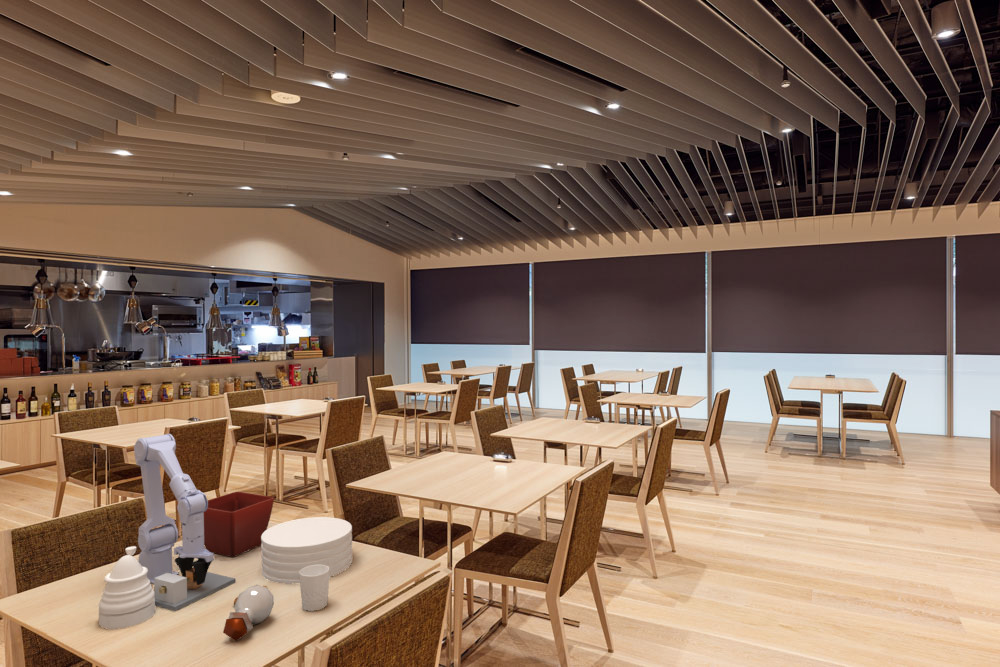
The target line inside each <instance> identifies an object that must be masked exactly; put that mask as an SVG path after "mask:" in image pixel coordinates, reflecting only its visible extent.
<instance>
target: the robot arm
mask: <svg viewBox="0 0 1000 667" xmlns="http://www.w3.org/2000/svg"><path fill="white" fill-rule="evenodd" d="M176 449H177V444H176V439H175V437H174V436H173V435H172V434H171V433H165V434H160V435H155V436H148V437H140V438H138V439H136V442H135V444H134V445H133V451H134V460H135V464H136V466H139V467H140V471H141V479H142V488H143V496H144V503H145V510H146V518H147V519H146V520H145V521H144V522H143V523H142V524H141V525H140V526H139V527H138V537H137V543H138V547H139V548H140V550H141V551H140V552H139V555H138V560H137V561H138V562H139V563H140V565H141V566H143V567H146V568H147V569H148V573H147V574H146V576H147V578H148V579H149V580H150V584H154V578H156V577H158V576H161V575H163V574H165V573H170V574H174V575H178V576H179V575H180V574H181V576H182V577H186V570H189V569H191V568H194V570H195V575H196V583H197V585H200V584H202V583H204V582H205V578H206V574H207V572H209V571H208V570H209V568H210V566H211V564H212V563H213V561H214V560H215V559H214V558H215V556H214V554H215V553H212V552H209V551H208V550H207V549H206V547H205V545H204V512H205V511H206V510H207V508H208V500H209V499H208V498H207V497H208V496H207V495H206V494H205V493H204V492H202V491H201V490H200V489H197V488H196V486H195V484H194V482H193V480H192V479H191V476H190V475H189V474H187V473H184V472H183V470H182V468H181V465H180V463H179V461H178V458H177V456H176ZM160 466H161V467H162V468H163V470H164V471H165V473H166V474H167V476H168V477H169V479H170V482H169V487H170V489H171V491H172V493H173V495H174V497H175V498H176V500H177V502H178V503H177V507H176V508H177V512H178V516H179V521H180V523H181V532H182V533H181V535H182V538H181V539H182V545H178V546H176V547H175V543H177V541H178V539H179V530H178V527H177V525H176V521H175V519H174V518H172V517H170V516H168V515H167V514H166V507H165V498H164V492H163V491H164V490H163V484H162V476H161V475H162V474H161V469H160V468H161V467H160ZM173 555H175V556H178V557H176V558H175V559H174V562H175V563H176V565H177V567H178V569H179V570H180V573H179V572H177V571H173ZM195 559H197V560H195Z"/></svg>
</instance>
